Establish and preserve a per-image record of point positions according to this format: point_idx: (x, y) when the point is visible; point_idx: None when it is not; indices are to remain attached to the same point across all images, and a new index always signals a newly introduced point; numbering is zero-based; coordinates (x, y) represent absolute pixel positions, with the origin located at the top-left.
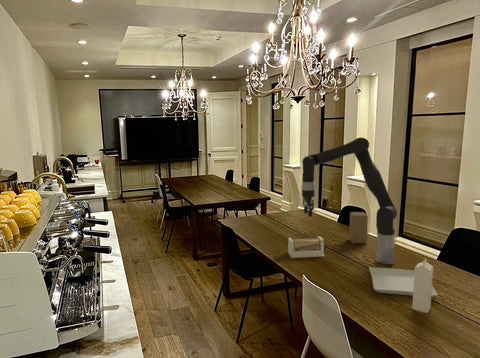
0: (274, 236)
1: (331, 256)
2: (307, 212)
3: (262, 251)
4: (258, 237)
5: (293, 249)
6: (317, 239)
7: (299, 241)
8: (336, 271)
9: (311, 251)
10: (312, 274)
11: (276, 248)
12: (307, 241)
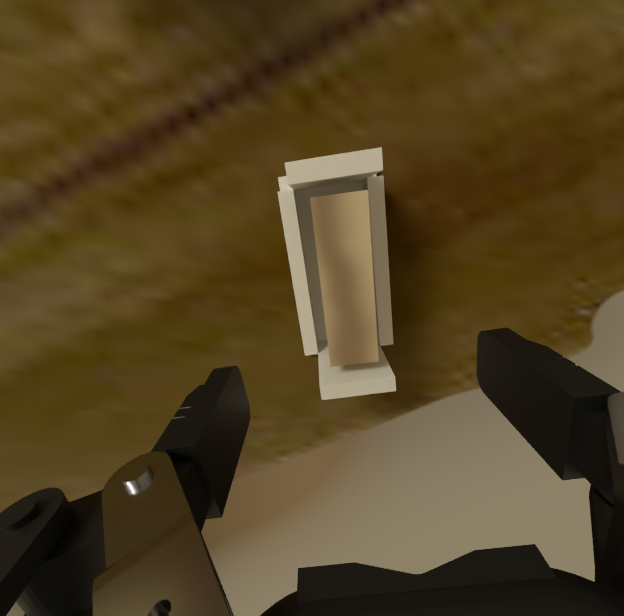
0: (65, 397)
1: (379, 114)
2: (236, 374)
3: (299, 452)
4: (103, 465)
5: (315, 333)
6: (337, 196)
7: (375, 334)
8: (601, 138)
9: (387, 246)
10: (598, 272)
11: (256, 397)
12: (373, 280)
